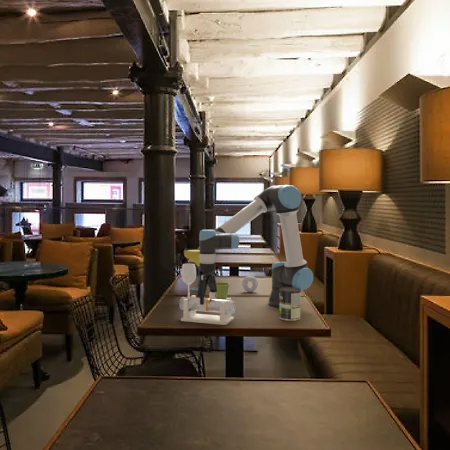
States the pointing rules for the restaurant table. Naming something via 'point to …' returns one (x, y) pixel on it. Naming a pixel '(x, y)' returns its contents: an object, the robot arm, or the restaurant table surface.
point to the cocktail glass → (193, 256)
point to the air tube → (209, 305)
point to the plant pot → (222, 290)
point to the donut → (247, 279)
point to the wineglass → (188, 275)
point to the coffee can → (289, 303)
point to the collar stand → (204, 318)
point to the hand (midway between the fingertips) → (207, 308)
